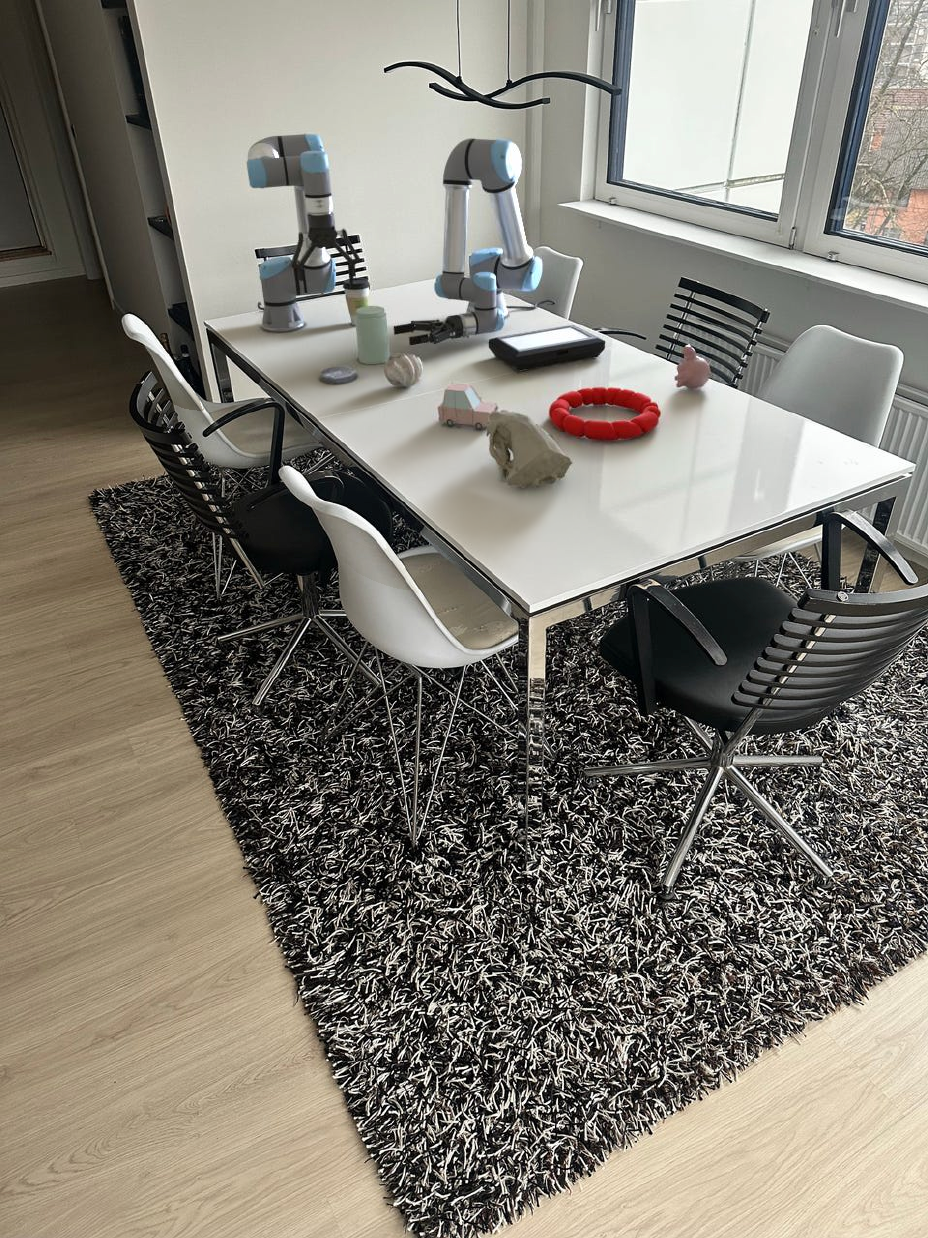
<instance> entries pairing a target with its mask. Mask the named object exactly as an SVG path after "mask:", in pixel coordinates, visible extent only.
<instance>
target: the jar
mask: <svg viewBox="0 0 928 1238" xmlns="http://www.w3.org/2000/svg"><path fill="white" fill-rule="evenodd" d="M387 319H388V317H387V313H386V309H385V308H384V307H382V306H378V305H369V306H365V307H361V308H358V309H357V310H356V315H355V322H356V325H355V331H356V332H355V333H356V342H357V351H358V361H359V362H360V363H361V364H365V365H378V364H379V365H380V364H383V363H384V364H385V363H386V361H387V359H388V358H389V357H390V348H389V347H390V344H389V333H388V320H387Z"/></svg>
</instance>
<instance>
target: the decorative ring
mask: <svg viewBox="0 0 928 1238" xmlns="http://www.w3.org/2000/svg"><path fill="white" fill-rule="evenodd" d="M583 405H584V406H586V407H587V406H591V405H593V406H604V405H608V406H614V407H619V408H624V409H628V410H632V411H635V412H636V413H638V414H639V415H637V416H635V417H632V418H631V419H630V420H625V419H624V420H623V419H622V420H614V421H611V422H609V421H607V420H606V421H605V420H593V419H587V420H586V421H585V419H584V418H582V417H579V416H577V415H573V414H571V413H570V410H571V409H579V408H581V407H582V406H583ZM548 416H549V419H550V422H551V423H552V425H553V426H554V427H555V428H556V429H558V430H559V431H561V432H563V433H567V434H568V435H569V436H573V437H576V438H580V439H582V438H583V437H585V438H586V439H587V440H591V441H601V442H602V441H603V442H608V441H609V442H610V441H611V442H612V441H615V442H616V441H618V440H630V439H634V438H638V437H641V436H642V434H647V433H650V432H651V431H653V430H654V429H655V428H656V427H657V426H658V424H659V422H660V421H659V420H660V417H661V410H660V408H659V405H658V403H657V402H656V401H652V399H651V397H649V396H648V395H646V394H644V393H642V392H635V391H634V390H632V389H628V388H624V389H622V388H620V387H613V386H612V387H611V386H610V387H608V388H606V387H604V386H594V387H585V388H584V387H583V388H580V389H578V390H571V391H568V392H565V393H563V394H561V395H560V396H558V397H557V398H556V400H554V401H552V403H551V404H550V407H549V409H548Z"/></svg>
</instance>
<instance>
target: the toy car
mask: <svg viewBox="0 0 928 1238" xmlns="http://www.w3.org/2000/svg"><path fill="white" fill-rule="evenodd" d="M498 409H499V404H498V403H497V402H490V401H489V402H487V401H483V397H481V396H480V395H479V394H478V393H477V391H476V390H475V389H474V386H472V384H469V383H459V382H451V383H450V384H449V385H448V386H447V387H446V388H445V389H444V394H443V399H442V403H440V404H439V405H438V406H437V413H438V421H439V422H443V423H446V425H447V426H448V427H452V426H454V425H455V424H461V425H469V426H473V427H475V429H476V430H479V431H480V430H481V429H483V428H485V427H486V428H487V423H488V422H490V414H491V413H492V412H496V411H499V410H498Z"/></svg>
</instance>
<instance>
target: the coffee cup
mask: <svg viewBox="0 0 928 1238" xmlns="http://www.w3.org/2000/svg"><path fill="white" fill-rule="evenodd" d="M352 279H353V289H351V288H350V282H349V278H347V279H345V280H344V281H343V285H342V288H343V290H344V297H345V301H346V305H347V310H348V314H349V318H350V323H351V325H353V326H356V322H355V315H356V310H357V309H358V308H361V307H365V306H370V287H371V283H370V282H369V279H367V278H365V277H352Z"/></svg>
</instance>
